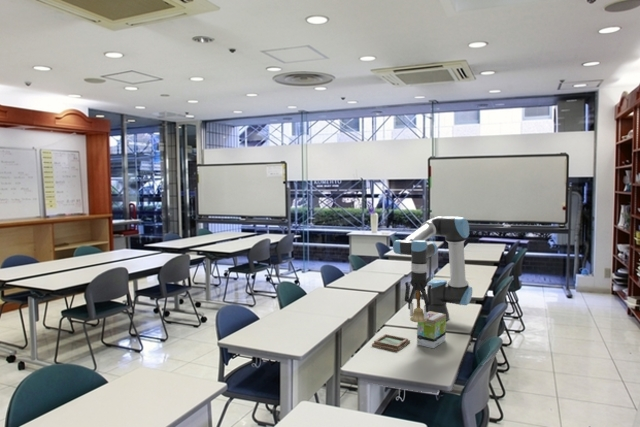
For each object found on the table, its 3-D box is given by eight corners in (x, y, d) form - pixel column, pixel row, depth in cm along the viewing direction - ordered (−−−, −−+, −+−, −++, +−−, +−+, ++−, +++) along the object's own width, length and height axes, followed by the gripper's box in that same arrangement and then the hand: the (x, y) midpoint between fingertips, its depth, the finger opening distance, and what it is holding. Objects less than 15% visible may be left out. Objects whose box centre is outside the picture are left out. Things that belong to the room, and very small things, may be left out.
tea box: (434, 349, 225) (435, 320, 224) (416, 344, 231) (416, 316, 230) (446, 340, 237) (446, 313, 236) (428, 336, 243) (428, 310, 242)
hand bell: (414, 323, 218) (414, 291, 217) (407, 318, 226) (407, 287, 225) (429, 322, 220) (430, 290, 219) (422, 317, 228) (422, 286, 227)
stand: (385, 337, 242) (385, 333, 242) (409, 342, 234) (410, 338, 234) (371, 346, 229) (371, 341, 229) (396, 352, 221) (396, 347, 221)
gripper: (397, 270, 224) (397, 315, 225) (435, 275, 213) (434, 322, 214) (403, 268, 230) (403, 312, 231) (440, 272, 219) (440, 318, 221)
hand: (418, 316), depth 223 cm, fingers closed on hand bell, 7 cm apart
